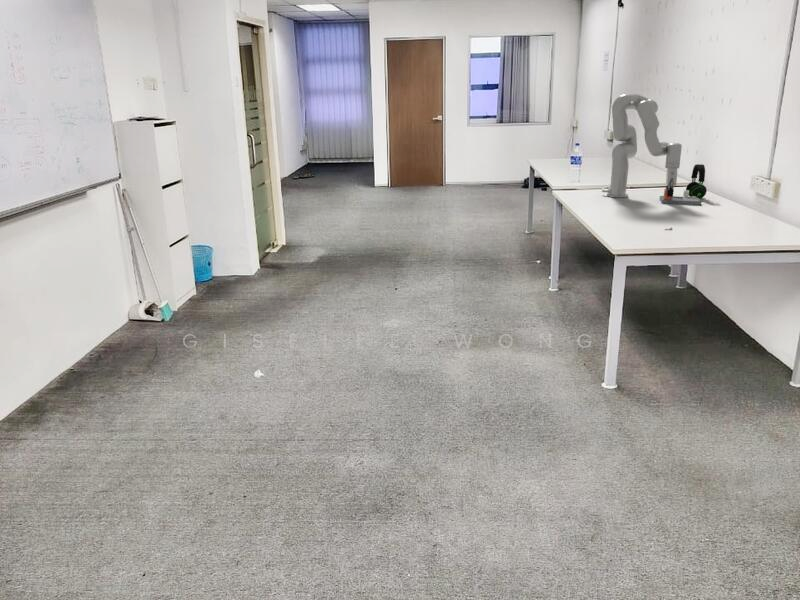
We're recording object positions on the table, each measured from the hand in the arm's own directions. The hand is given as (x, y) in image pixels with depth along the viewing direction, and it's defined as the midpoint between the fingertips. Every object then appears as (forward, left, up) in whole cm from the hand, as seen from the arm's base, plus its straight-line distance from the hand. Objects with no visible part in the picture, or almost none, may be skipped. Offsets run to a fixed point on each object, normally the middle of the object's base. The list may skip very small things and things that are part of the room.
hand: (669, 195), depth 369 cm
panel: (+7, +3, -4) cm, 8 cm away
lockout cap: (0, 0, -2) cm, 2 cm away
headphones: (+17, +21, -5) cm, 27 cm away
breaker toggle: (+10, +7, -2) cm, 12 cm away
